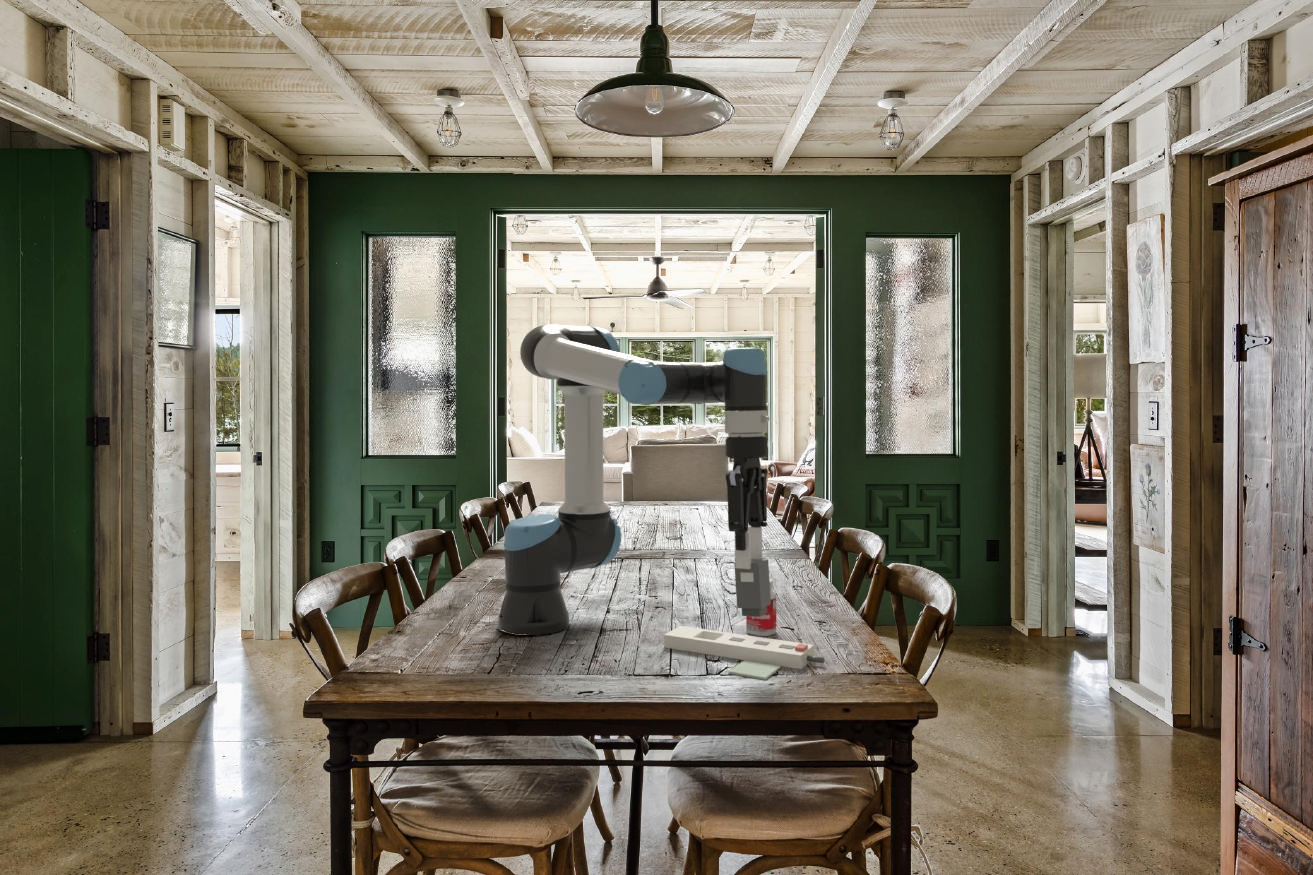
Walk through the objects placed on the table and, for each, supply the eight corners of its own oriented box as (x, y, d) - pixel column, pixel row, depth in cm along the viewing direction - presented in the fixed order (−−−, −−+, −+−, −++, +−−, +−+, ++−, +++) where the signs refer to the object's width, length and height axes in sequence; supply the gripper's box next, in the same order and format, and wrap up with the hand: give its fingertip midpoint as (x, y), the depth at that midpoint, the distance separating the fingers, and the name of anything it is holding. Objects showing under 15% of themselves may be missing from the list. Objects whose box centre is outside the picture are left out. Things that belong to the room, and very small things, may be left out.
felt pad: (728, 673, 144) (728, 671, 144) (744, 662, 150) (744, 659, 150) (765, 679, 141) (765, 677, 141) (780, 667, 147) (780, 665, 147)
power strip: (664, 647, 160) (663, 631, 160) (680, 637, 166) (680, 622, 166) (817, 671, 144) (817, 654, 144) (829, 660, 151) (829, 643, 150)
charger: (737, 616, 145) (734, 562, 145) (747, 611, 149) (744, 559, 149) (761, 617, 143) (758, 563, 143) (771, 612, 147) (768, 559, 147)
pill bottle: (742, 635, 168) (742, 581, 167) (751, 627, 173) (751, 575, 173) (771, 638, 165) (771, 584, 164) (780, 630, 171) (779, 577, 170)
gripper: (746, 437, 136) (749, 576, 137) (784, 433, 151) (786, 558, 152) (705, 437, 140) (708, 573, 140) (746, 433, 155) (748, 555, 156)
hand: (749, 565), depth 146 cm, fingers closed on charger, 5 cm apart
